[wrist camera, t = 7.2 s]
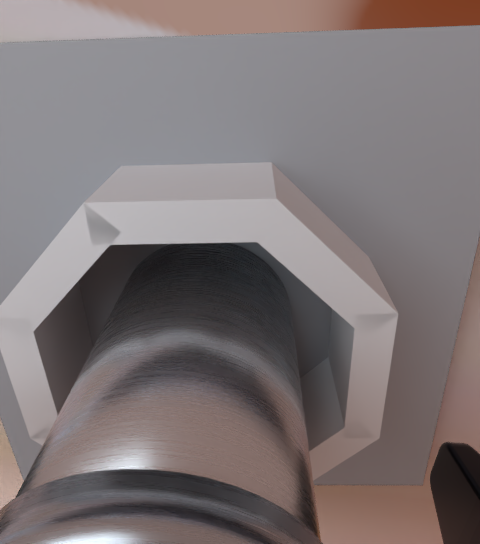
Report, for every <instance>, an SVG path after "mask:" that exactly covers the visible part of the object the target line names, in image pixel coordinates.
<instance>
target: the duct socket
mask: <svg viewBox="0 0 480 544" xmlns="http://www.w3.org/2000/svg"><path fill="white" fill-rule="evenodd" d="M479 236H480V25H479V26H451V27H423V28H395V29H368V30H340V31H314V32H313V31H312V32H284V33H259V34H258V33H256V34H228V35H201V36H173V37H146V38H118V39H90V40H63V41H35V42H7V43H0V418H1V420H2V423H3V426H4V429H5V431H6V434H7V437H8V439H9V442H10V445H11V447H12V450H13V453H14V455H15V458H16V461H17V464H18V466H19V469H20V472H21V474H22V477H23V480H25V478H26V477H27V475H28V473H29V471H30V469H31V467H32V465H33V463H34V461H35V459H36V457H37V455H38V453H39V451H40V449H41V447H42V446H43V444H44V442H45V440H46V438H47V436H48V434H49V432H50V430H51V428H52V426H53V424H54V422H55V420H56V418H57V416H58V414H59V413H60V411H61V409H62V407H63V405H64V403H65V401H66V399H67V397H68V395H69V393H70V391H71V389H72V387H73V385H74V383H75V382H76V380H77V378H78V376H79V374H80V372H81V370H82V368H83V366H84V364H85V362H86V360H87V358H88V356H89V354H90V352H91V351H92V349H93V347H94V345H95V343H96V341H97V339H98V337H99V335H100V333H101V331H102V329H103V327H104V325H105V323H106V321H107V320H108V318H109V316H110V314H111V312H112V310H113V308H114V306H115V304H116V302H117V300H118V298H119V296H120V294H121V292H122V290H123V288H124V287H125V285H126V283H127V281H128V279H129V277H130V275H131V273H132V272H133V271H134V269H135V268H136V267H137V266H138V265H139V264H140V263H141V262H142V261H143V260H144V259H145V258H146V257H147V256H149V255H150V254H151V253H153V252H155V251H156V250H158V249H160V248H162V247H164V246H167V245H169V244H183V243H232V244H235V245H237V246H240V247H243V248H245V249H247V250H249V251H250V252H252V253H254V254H255V255H257V256H258V257H260V258H261V259H263V260H264V261H265V262H266V263H267V264H268V265H269V266H270V267H271V268H272V269H273V270H274V271H275V272H276V274H277V275H278V276H279V278H280V279H281V281H282V283H283V284H284V287H285V289H286V291H287V293H288V297H289V301H290V306H291V314H292V322H293V330H294V337H295V345H296V353H297V361H298V368H299V376H300V384H301V392H302V399H303V407H304V415H305V423H306V430H307V438H308V446H309V454H310V461H311V469H312V477H313V485H423V482H424V477H425V473H426V468H427V464H428V460H429V455H430V451H431V447H432V442H433V438H434V433H435V429H436V425H437V420H438V416H439V412H440V407H441V403H442V398H443V394H444V390H445V385H446V381H447V376H448V372H449V368H450V363H451V359H452V355H453V350H454V346H455V341H456V337H457V333H458V328H459V324H460V320H461V315H462V311H463V306H464V302H465V298H466V293H467V289H468V285H469V280H470V276H471V271H472V267H473V263H474V258H475V254H476V249H477V245H478V241H479Z"/></svg>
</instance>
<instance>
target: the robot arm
mask: <svg viewBox="0 0 480 544" xmlns="http://www.w3.org/2000/svg"><path fill="white" fill-rule="evenodd" d="M430 484H431V490H432V494H433V499H434V503H435V508H436V512H437V516H438V521H439V525H440V530H441V534H442V538H443V543H444V544H480V454H479V453H478V452H477V451H476V450H474V449H473V448H472V447H471V446H469V445H468V444H464V443H450V442H446V443H444V444H442V445H441V447H440V449H439V452H438V455H437V457H436V460H435V463H434V466H433V468H432V471H431V476H430Z"/></svg>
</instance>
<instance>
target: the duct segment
mask: <svg viewBox="0 0 480 544" xmlns="http://www.w3.org/2000/svg"><path fill="white" fill-rule="evenodd" d="M0 544H322V542H321V539H320V531H319V523H318V516H317V508H316V500H315V492H314V485H313V477H312V469H311V461H310V454H309V446H308V438H307V430H306V423H305V415H304V407H303V399H302V392H301V384H300V376H299V368H298V361H297V353H296V345H295V337H294V330H293V322H292V314H291V306H290V301H289V297H288V293H287V291H286V289H285V287H284V284H283V283H282V281H281V279H280V278H279V276H278V275H277V274H276V272H275V271H274V270H273V269H272V268H271V267H270V266H269V265H268V264H267V263H266V262H265V261H264V260H263V259H261V258H260V257H258V256H257V255H255V254H254V253H252V252H250V251H249V250H247V249H245V248H243V247H240V246H237V245H235V244H232V243H183V244H169V245H167V246H164V247H162V248H160V249H158V250H156V251H155V252H153V253H151V254H150V255H149V256H147V257H146V258H145V259H144V260H143V261H142V262H141V263H140V264H139V265H138V266H137V267H136V268H135V269H134V271H133V272H132V273H131V275H130V277H129V279H128V281H127V283H126V285H125V287H124V288H123V290H122V292H121V294H120V296H119V298H118V300H117V302H116V304H115V306H114V308H113V310H112V312H111V314H110V316H109V318H108V320H107V321H106V323H105V325H104V327H103V329H102V331H101V333H100V335H99V337H98V339H97V341H96V343H95V345H94V347H93V349H92V351H91V352H90V354H89V356H88V358H87V360H86V362H85V364H84V366H83V368H82V370H81V372H80V374H79V376H78V378H77V380H76V382H75V383H74V385H73V387H72V389H71V391H70V393H69V395H68V397H67V399H66V401H65V403H64V405H63V407H62V409H61V411H60V413H59V414H58V416H57V418H56V420H55V422H54V424H53V426H52V428H51V430H50V432H49V434H48V436H47V438H46V440H45V442H44V444H43V446H42V447H41V449H40V451H39V453H38V455H37V457H36V459H35V461H34V463H33V465H32V467H31V469H30V471H29V473H28V475H27V477H26V478H25V480H24V482H23V484H22V486H21V488H20V490H19V492H18V494H17V496H16V498H15V499H13V500H12V501H10V502H9V503H8V504H7V505H5V506H4V507H3V508H2V509H1V510H0Z"/></svg>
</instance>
